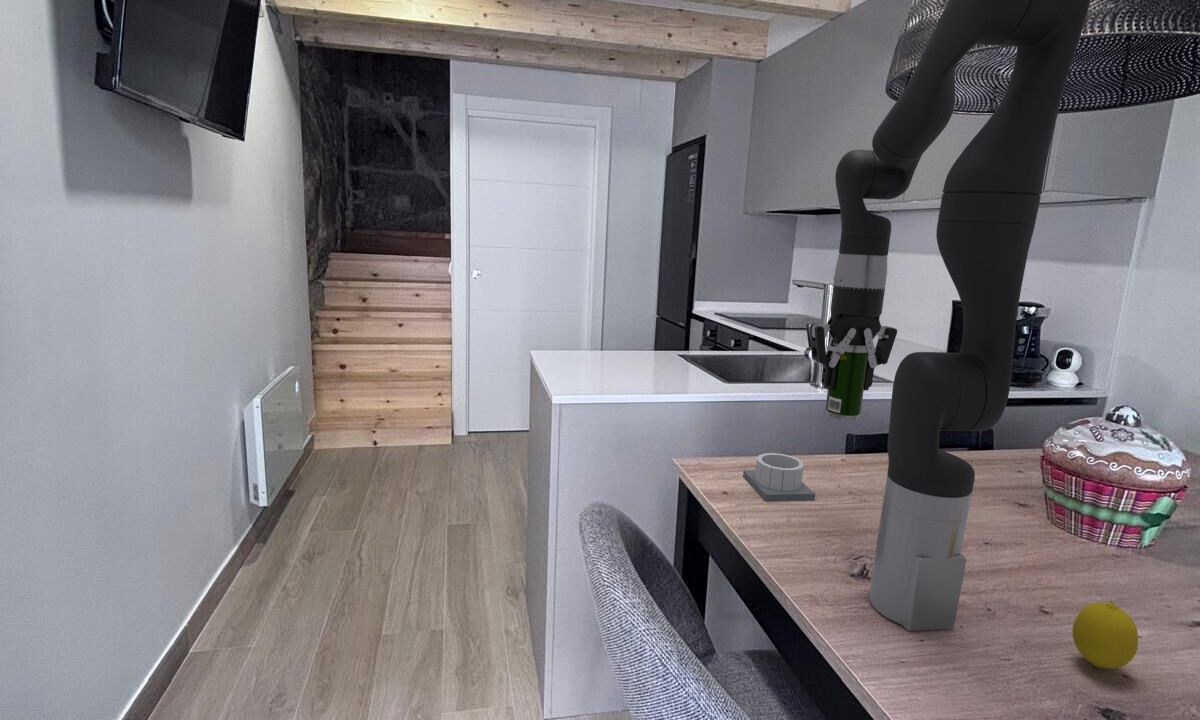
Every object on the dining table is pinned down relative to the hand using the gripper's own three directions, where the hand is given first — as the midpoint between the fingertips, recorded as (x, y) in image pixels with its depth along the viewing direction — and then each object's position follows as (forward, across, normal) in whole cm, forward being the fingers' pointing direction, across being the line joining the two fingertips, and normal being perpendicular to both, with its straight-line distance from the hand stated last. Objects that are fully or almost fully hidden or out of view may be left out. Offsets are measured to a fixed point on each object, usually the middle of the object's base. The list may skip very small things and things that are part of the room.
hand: (845, 388), depth 99 cm
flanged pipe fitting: (+22, -4, +11) cm, 25 cm away
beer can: (+5, 0, 0) cm, 5 cm away
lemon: (+23, +12, -38) cm, 46 cm away
